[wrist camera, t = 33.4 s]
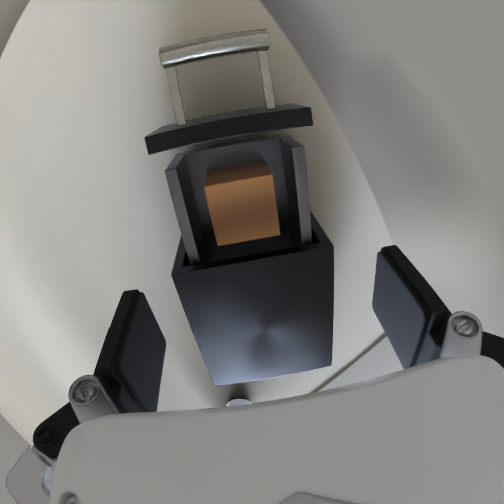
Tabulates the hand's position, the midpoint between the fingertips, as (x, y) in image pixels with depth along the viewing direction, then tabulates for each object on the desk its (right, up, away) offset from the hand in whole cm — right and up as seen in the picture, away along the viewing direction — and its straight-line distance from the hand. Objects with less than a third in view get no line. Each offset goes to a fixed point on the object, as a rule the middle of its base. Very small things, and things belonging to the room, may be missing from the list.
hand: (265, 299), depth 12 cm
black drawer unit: (0, -1, +19) cm, 19 cm away
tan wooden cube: (-1, +7, +13) cm, 14 cm away
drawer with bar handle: (-2, +10, +12) cm, 16 cm away
